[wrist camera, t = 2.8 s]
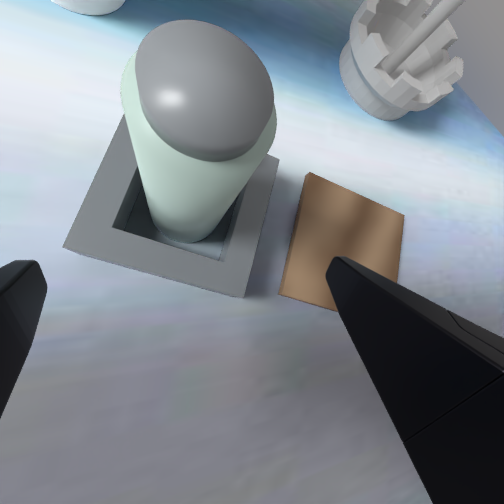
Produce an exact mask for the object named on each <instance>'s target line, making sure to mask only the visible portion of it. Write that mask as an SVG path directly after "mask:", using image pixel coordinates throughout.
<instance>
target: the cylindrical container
mask: <svg viewBox="0 0 504 504" xmlns="http://www.w3.org/2000/svg"><path fill="white" fill-rule="evenodd" d="M51 1H52V2H54V3H55V4H57V5H59V6H61V7H63V8H65V9H67V10H70V11H73V12H76V13H80V14H85V15H104V14H109V13H111V12H113V11H116V10H117V9H119V8H120V7H121V6H122V5H123V3H124V2H125V0H51Z"/></svg>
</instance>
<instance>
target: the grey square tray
mask: <svg viewBox="0 0 504 504" xmlns="http://www.w3.org/2000/svg"><path fill="white" fill-rule="evenodd" d="M278 164H279V159H277V158H275V157H273V156H270V155H268V154H266V155H265V157H264V158H263V160H262V161H261V163H260V164H259V165H258V167H257V168H256V170H255V171H254V173H253V174H252V176H251V177H250V178H249V180H248V181H247V183H246V184H245V186H244V187H243V189H242V190H241V191H240V193H239V194H238V198H237V201H236V204H235V208H234V211H233V215H232V218H231V221H230V225H229V228H228V231H227V235H226V238H225V242H224V245H223V248H222V252H221V255H220V258H219V261H218V260H214V259H211V258H208V257H205V256H202V255H198V254H195V253H192V252H189V251H186V250H182V249H179V248H176V247H173V246H170V245H167V244H163V243H160V242H157V241H154V240H151V239H147V238H144V237H141V236H138V235H135V234H131V233H128V232H125V231H123V230H124V228H125V226H126V223H127V221H128V218H129V216H130V213H131V211H132V208H133V206H134V203H135V201H136V198H137V196H138V194H139V191H140V189H141V186H142V184H143V183H142V180H141V176H140V172H139V168H138V164H137V160H136V156H135V152H134V149H133V145H132V141H131V137H130V133H129V129H128V125H127V122H126V118H125V114H124V115H123V117H122V119H121V121H120V123H119V126H118V128H117V130H116V132H115V134H114V136H113V138H112V141H111V143H110V145H109V147H108V149H107V151H106V154H105V156H104V158H103V160H102V162H101V164H100V167H99V169H98V171H97V173H96V175H95V177H94V180H93V182H92V184H91V186H90V188H89V190H88V192H87V195H86V197H85V199H84V201H83V203H82V205H81V208H80V210H79V212H78V214H77V216H76V218H75V221H74V223H73V225H72V227H71V229H70V231H69V234H68V236H67V238H66V240H65V242H64V244H63V246H62V247H63V248H66V249H68V250H70V251H73V252H75V253H78V254H80V255H84V256H87V257H91V258H94V259H98V260H102V261H105V262H109V263H112V264H116V265H120V266H123V267H127V268H130V269H134V270H138V271H141V272H145V273H148V274H152V275H156V276H159V277H163V278H166V279H170V280H174V281H177V282H181V283H184V284H188V285H192V286H195V287H199V288H202V289H206V290H210V291H213V292H217V293H220V294H224V295H228V296H231V297H239V298H244V294H245V290H246V287H247V283H248V279H249V275H250V271H251V267H252V264H253V260H254V256H255V252H256V248H257V244H258V241H259V237H260V233H261V229H262V225H263V221H264V218H265V214H266V210H267V206H268V202H269V198H270V195H271V191H272V187H273V183H274V179H275V176H276V172H277V168H278Z"/></svg>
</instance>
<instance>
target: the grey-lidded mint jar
mask: <svg viewBox="0 0 504 504" xmlns="http://www.w3.org/2000/svg"><path fill="white" fill-rule="evenodd" d="M120 94H121V101H122V106H123V110H124V114H125V118H126V122H127V125H128V129H129V133H130V137H131V141H132V145H133V149H134V152H135V156H136V160H137V164H138V168H139V172H140V176H141V180H142V183H143V187H144V191H145V195H146V199H147V203H148V207H149V210H150V214H151V218H152V220H153V223H154V224H155V226H156V228H157V229H158V230H159V231H160V232H161V233H162V234H163V235H165V236H166V237H168V238H170V239H172V240H174V241H177V242H183V243H191V242H196V241H199V240H202V239H204V238H206V237H207V236H208V235H210V234H211V233H212V232H213V230H214V229H215V227H216V226H217V225H218V223H219V222H220V220H221V219H222V217H223V216H224V214H225V213H226V212H227V210H228V209H229V207H230V206H231V204H232V203H233V202H234V200H235V199H236V197H237V196H238V194H239V193H240V191H241V190H242V189H243V187H244V186H245V184H246V183H247V181H248V180H249V178H250V177H251V176H252V174H253V173H254V171H255V170H256V168H257V167H258V165H259V164H260V163H261V161H262V160H263V158H264V157H265V155H266V154H267V152H268V151H269V149H270V147H271V145H272V143H273V140H274V138H275V133H276V126H277V118H276V110H275V105H274V93H273V87H272V83H271V80H270V77H269V74H268V72H267V70H266V68H265V66H264V65H263V63H262V61H261V60H260V59H259V57H258V56H257V55H256V54H255V52H254V51H253V50H252V49H251V48H250V47H249V46H248V45H247V44H246V43H245V42H243V41H242V40H241V39H239V38H238V37H237V36H235V35H234V34H232V33H231V32H229V31H227V30H225V29H223V28H221V27H219V26H216V25H214V24H210V23H207V22H203V21H197V20H176V21H171V22H167V23H164V24H162V25H160V26H158V27H156V28H154V29H153V30H152V31H151V32H149V33H148V34H147V35H146V37H145V38H144V39H143V40H142V42H141V44H140V45H139V48H138V50H137V51H136V52H135V53H134V54H133V55H132V57H131V58H130V59H129V61H128V63H127V64H126V66H125V69H124V72H123V74H122V79H121V92H120Z"/></svg>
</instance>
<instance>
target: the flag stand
mask: <svg viewBox="0 0 504 504" xmlns="http://www.w3.org/2000/svg"><path fill="white" fill-rule="evenodd" d="M464 1H465V0H442V1H441V2H440V3H439V4H438V5H437V6H436V7H435V8H434V9H433V10H432V12H430V14H429V15H428V16H426V15H425V14H424V13H425V12H426V10H427V9H428V8H429V7H430V6H431V4H432V2H433V0H364V1H363V3H362V4H361V6H360V7H359V9H358V10H357V12H356V13H355V15H354V17H353V19H352V22H351V26H350V39H349V41H348V42H347V43H346V45H345V46H344V48H343V49H342V52H341V54H340V60H339V68H340V74H341V78H342V81H343V83H344V86H345V88H346V90H347V91H348V93H349V95H350V96H351V98H352V99H353V100H354V101H355V103H356V104H357V105H358V106H359V107H360V108H362V109H363V110H364V111H365V112H367V113H368V114H370V115H371V116H373V117H375V118H378V119H381V120H385V121H392V120H397V119H399V118H401V117H402V116H404V115H405V114H406V113H408V112H409V111H421V110H426V109H427V108H429V107H431V106H432V105H434V104H435V103H436V102H438V101H439V100H441V99H442V98H443V97H445V96H446V95H448V94H449V93H450V92H452V91H453V90H454V89H453V88H452V86H451V85H452V84H454V83H455V82H456V81H458V80H459V79H460V78H462V73H463V59H461V58H459V57H457V56H456V57H455V58H453V59H452V60H451V61H450V57H449V54H448V50H447V49H448V48H449V47H450V46H451V45H452V44H453V43H454V42H455V41H457V40H458V38H457V36H456V33H455V31H454V29H453V27H452V26H451V24H450V22H449V20H448V19H447V18H448V17H449V16H450V15H451V14H452V13H453V12H454V11H455V10H456V9H457V8H458V7H459V6H460V5H461V4H462V3H463V2H464Z"/></svg>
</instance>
